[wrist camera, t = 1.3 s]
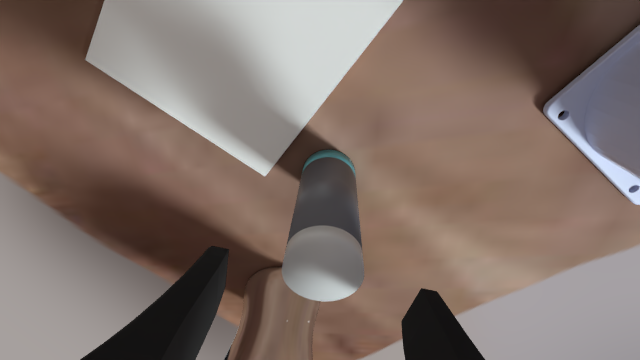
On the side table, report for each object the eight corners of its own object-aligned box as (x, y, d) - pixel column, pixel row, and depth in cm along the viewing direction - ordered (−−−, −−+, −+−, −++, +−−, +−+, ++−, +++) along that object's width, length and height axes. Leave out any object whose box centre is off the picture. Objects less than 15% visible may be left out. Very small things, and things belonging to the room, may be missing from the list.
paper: (406, -6, 14) (407, -6, 13) (266, 174, 19) (265, 176, 19) (183, -226, 11) (179, -232, 10) (89, 59, 16) (85, 59, 16)
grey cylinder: (365, 169, 18) (381, 271, 12) (332, 203, 20) (329, 311, 13) (324, 139, 18) (314, 228, 11) (292, 176, 19) (266, 277, 12)
